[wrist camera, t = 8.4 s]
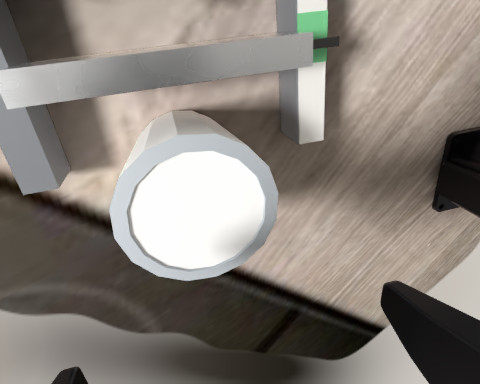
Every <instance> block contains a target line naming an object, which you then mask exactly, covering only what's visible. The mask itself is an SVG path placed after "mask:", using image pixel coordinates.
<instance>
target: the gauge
mask: <svg viewBox="0 0 480 384" xmlns="http://www.w3.org/2000/svg"><path fill="white" fill-rule="evenodd" d="M327 3H328V0H276V13H277V33H289V32H313V39H317V38H325V37H327V29H328V10H327ZM326 61H327V48H319V49H313V66H310V67H303V68H296V69H289V70H282V71H279V90H280V115H281V132H282V133H283V134H285V135H286V136H287V137H289V138H290V139H291V140H293V141H294V142H295V143H297V144H305V143H311V142H316V141H322V140H324V115H325V78H326ZM25 63H30V62H29V60H28V57H27V55H26V52H25V49H24V47H23V44H22V42H21V39H20V36H19V34H18V31H17V29H16V26H15V24H14V21H13V18H12V16H11V13H10V11H9V8H8V5H7V3H6V0H0V69H3V68H8V67H12V66H17V65H21V64H25ZM0 147H1V150H2V152H3V154H4V156H5V158H6V160H7V162H8V164H9V166H10V168H11V170H12V172H13V174H14V176H15V179H16V181H17V183H18V185H19V187H20V189H21V191H22V193H23V195H25V194H31V193H36V192H41V191H47V190H52V189H58V188H59V187H60V186H61V184H62V182H63V181H64V179H65V178H66V176H67V174H68V173H69V171H70V166H69V164H68V161H67V159H66V156H65V153H64V151H63V148H62V146H61V143H60V140H59V138H58V135H57V133H56V130H55V127H54V125H53V122H52V120H51V117H50V114H49V112H48V109H47V107H46V104H43V105H36V106H29V107H21V108H14V109H7V108H6V105H5V103H4V101H3V99H2V96H1V94H0Z"/></svg>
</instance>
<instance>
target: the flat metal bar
mask: <svg viewBox="0 0 480 384" xmlns="http://www.w3.org/2000/svg"><path fill="white" fill-rule="evenodd" d="M334 46H339V36H333V37H325V38H317V39H313V32H289V33H268V34H259V35H251V36H243V37H234V38H226V39H217V40H209V41H201V42H192V43H184V44H176V45H167V46H159V47H151V48H142V49H134V50H125V51H117V52H109V53H100V54H92V55H84V56H75V57H67V58H58V59H50V60H42V61H34V62H30V63H25V64H21V65H17V66H12V67H8V68H3V69H0V94H1V96H2V99H3V101H4V103H5V105H6V108H7V109H14V108H21V107H29V106H36V105H43V104H50V103H57V102H64V101H71V100H78V99H85V98H92V97H99V96H106V95H113V94H120V93H127V92H134V91H141V90H148V89H155V88H162V87H169V86H177V85H184V84H191V83H198V82H205V81H212V80H219V79H226V78H233V77H240V76H247V75H254V74H261V73H268V72H275V71H282V70H289V69H296V68H303V67H310V66H313V49H319V48H327V47H334Z"/></svg>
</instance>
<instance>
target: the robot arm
mask: <svg viewBox="0 0 480 384" xmlns="http://www.w3.org/2000/svg"><path fill="white" fill-rule="evenodd" d="M458 207H461V208H463V209H465V210H467V211H469V212H470V213H472V214H474V215H476V216H478V217H479V218H480V127H479V128H474V129H469V130H464V131H459V132H454V133H451V134H450V135H449V136H448V138H447V140H446V145H445V149H444V154H443V158H442V163H441V168H440V172H439V177H438V181H437V186H436V190H435V195H434V200H433V204H432V208H433V209H434V210H436V211H438V212H441V211H445V210H449V209H454V208H458ZM381 307H382V309H383V311H384V313H385V315H386V316H387V318H388V320H389V322H390V323H391V325H392V327H393V329H394V330H395V332H396V334H397V335H398V337H399V339H400V341H401V342H402V344H403V346H404V347H405V349H406V350H407V352H408V354H409V356H410V357H411V359H412V360H413V361H414V363H415V364H416V366H417V367H418V369H419V370H420V371H421V373H422V374H423V376H424V377H425V378H426V380H427V381H428V383H429V384H480V320H478V319H476V318H473V317H471V316H469V315H467V314H465V313H463V312H461V311H459V310H457V309H455V308H453V307H451V306H449V305H447V304H445V303H443V302H441V301H438V300H437V299H434V298H433V297H430V296H428V295H426V294H424V293H422V292H420V291H418V290H416V289H414V288H412V287H410V286H408V285H406V284H404V283H402V282H400V281H391V282H387V283H385V284H384V285H383V290H382V296H381ZM52 384H88V382H87V380H86V379H85V377H84V375H83V373H82V371H81V369H80V368H79V367H73V368H69V369H65V370H63V371H61V372H60V373H59V374H58V375H57V377H56V378H55V380H54V381H53V383H52Z"/></svg>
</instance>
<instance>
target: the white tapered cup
mask: <svg viewBox="0 0 480 384" xmlns="http://www.w3.org/2000/svg"><path fill="white" fill-rule="evenodd" d="M278 194H279V193H278V190H277V187H276V185H275V182H274V179H273V176H272V173H271V171H270V168H269V166H268V165H267V164H266V163H265V162H264V161H263V160H262V159H261V158H260V157H259V156H258V155H257V154H256V153H255V152H254V151H252V150H251V149H250V148H249V147H248V146H247V145H246V144H245V143H243V142H242V141H241V140H239V139H238V138H237V137H235V136H234V135H233V134H231V133H230V132H229V131H227V130H226V129H225V128H223V127H222V126H221V125H219V124H218V123H216V122H215V121H214V120H212V119H211V118H210V117H207V116H205V115H202V114H200V113H197V112H194V111H192V110H189V111H170V112H168V113H166V114H164V115H162V116H159V117H157V118H155V119H153V120H152V121H151V122H150V123H149V125H148V126H147V127H146V128H145V129H144V130H143V131H142V132H141V133H140V135H139V137H138V139H137V141H136V144H135V146H134V148H133V150H132V152H131V154H130V156H129V158H128V160H127V162H126V164H125V166H124V168H123V170H122V172H121V174H120V176H119V179H118V182H117V185H116V188H115V192H114V195H113V198H112V201H111V204H110V208H109V211H110V216H111V222H112V227H113V233H114V238H115V240H116V241H117V242H118V244H119V245H120V246H121V248H122V249H123V250H124V252H125V253H126V254H127V256H128V257H129V258H130V260H131V261H132V262H133V263H135V264H137V265H139V266H141V267H142V268H144V269H146V270H148V271H150V272H151V273H153V274H155V275H157V276H160V277H166V278H172V279H178V280H185V281H190V280H196V279H203V278H210V277H216V276H218V275H221V274H223V273H225V272H227V271H229V270H231V269H233V268H235V267H237V266H239V265H242V264H243V263H244V262H245V261H246V260H247V259H249V258H250V257H251V256H252V255H253V254H254V253H255V252H256V251H257V250H258V249H259V248H260V247H261V246H262V245H263V244H264V243H265V241H266V239H267V237H268V235H269V233H270V231H271V229H272V227H273V225H274V223H275V221H276V216H277V205H278Z"/></svg>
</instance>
